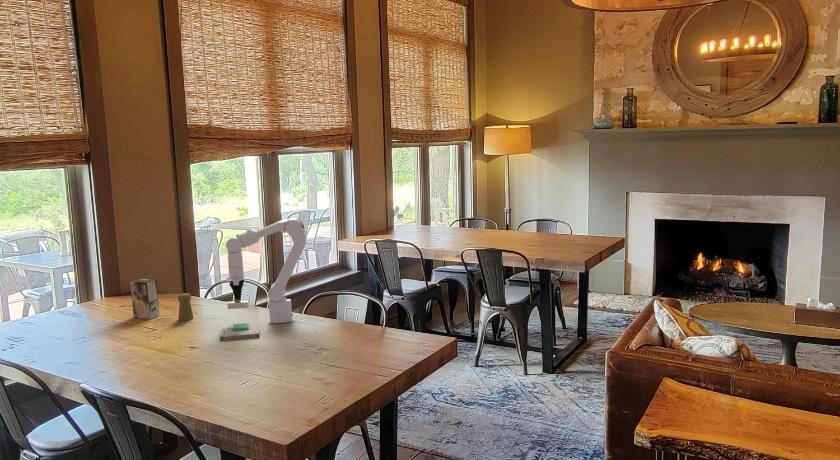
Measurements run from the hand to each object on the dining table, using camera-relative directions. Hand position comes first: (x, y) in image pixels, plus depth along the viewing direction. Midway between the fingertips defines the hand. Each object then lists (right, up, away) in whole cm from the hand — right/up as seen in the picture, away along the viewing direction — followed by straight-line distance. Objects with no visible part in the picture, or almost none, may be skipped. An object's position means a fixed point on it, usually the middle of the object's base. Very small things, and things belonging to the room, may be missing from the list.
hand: (237, 298), depth 262 cm
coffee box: (-43, -9, +12) cm, 46 cm away
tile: (+3, -12, -6) cm, 13 cm away
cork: (-24, -10, +8) cm, 27 cm away
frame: (+5, -13, -14) cm, 19 cm away
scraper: (0, -4, +1) cm, 4 cm away
